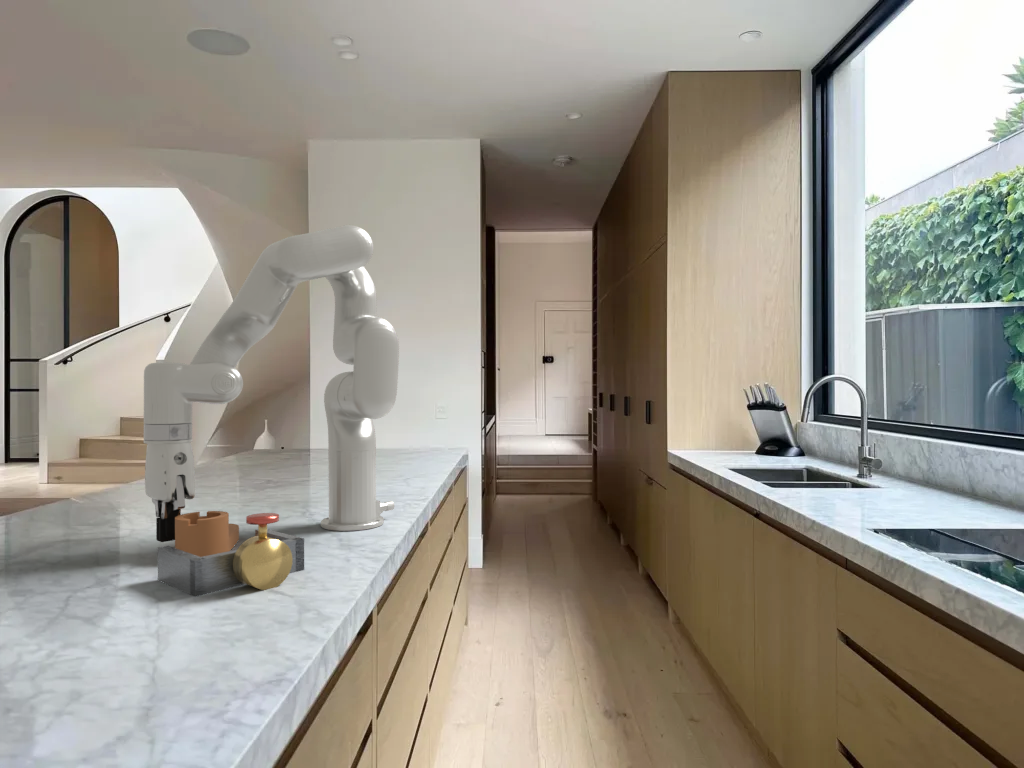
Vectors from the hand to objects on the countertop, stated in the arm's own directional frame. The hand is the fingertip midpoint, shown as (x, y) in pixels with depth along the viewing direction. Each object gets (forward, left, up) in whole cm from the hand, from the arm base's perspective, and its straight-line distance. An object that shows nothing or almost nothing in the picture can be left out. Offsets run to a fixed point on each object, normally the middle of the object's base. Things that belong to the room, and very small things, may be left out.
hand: (167, 540), depth 117 cm
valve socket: (0, +22, -2) cm, 22 cm away
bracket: (-6, +2, -3) cm, 7 cm away
